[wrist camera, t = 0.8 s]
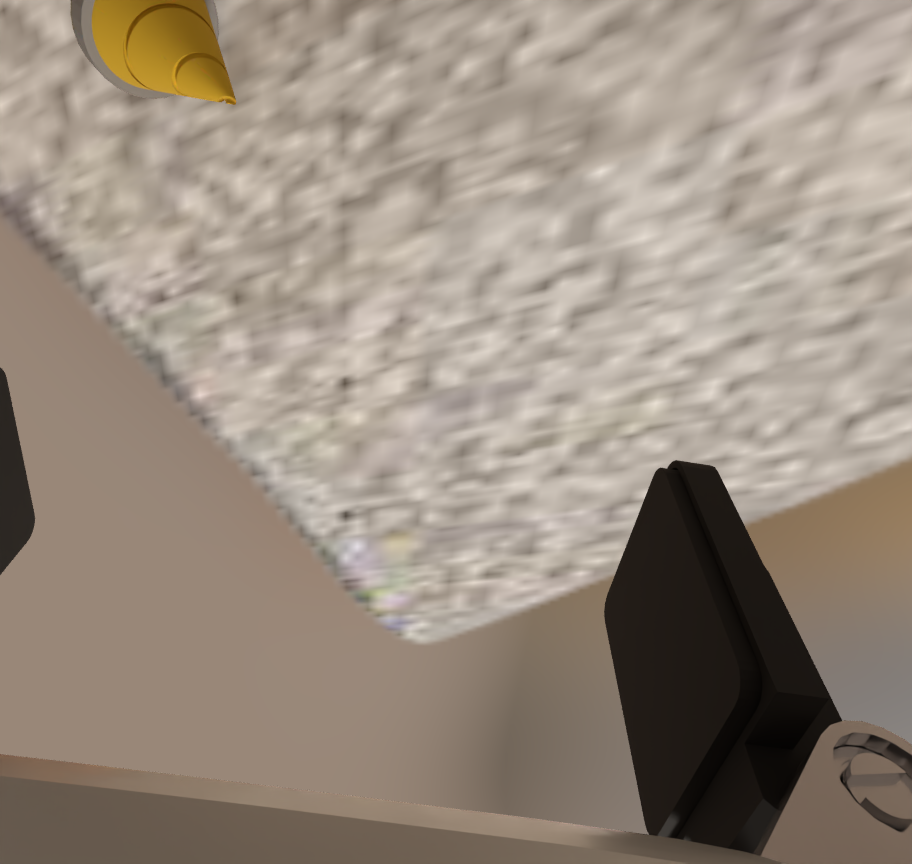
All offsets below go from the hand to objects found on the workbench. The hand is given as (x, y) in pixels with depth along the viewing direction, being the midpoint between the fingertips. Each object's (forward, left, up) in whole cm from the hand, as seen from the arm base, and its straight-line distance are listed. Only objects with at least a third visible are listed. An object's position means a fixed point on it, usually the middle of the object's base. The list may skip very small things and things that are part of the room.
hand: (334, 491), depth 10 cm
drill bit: (-3, -11, -26) cm, 28 cm away
